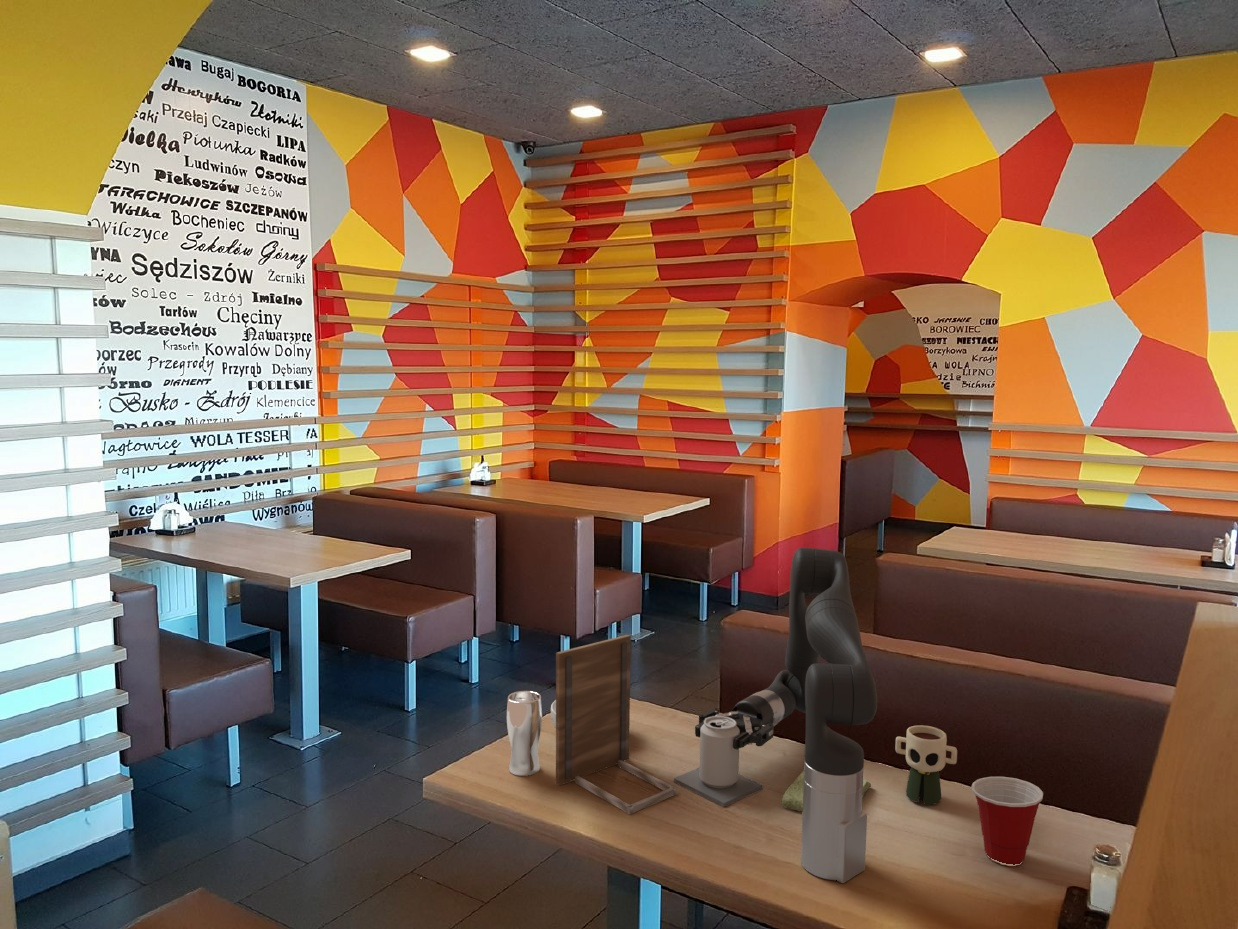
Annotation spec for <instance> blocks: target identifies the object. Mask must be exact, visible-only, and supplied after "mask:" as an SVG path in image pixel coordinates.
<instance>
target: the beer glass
mask: <svg viewBox="0 0 1238 929" xmlns="http://www.w3.org/2000/svg"><path fill="white" fill-rule="evenodd" d="M506 706H507V707H506V727H507V733H508V740H509V744H510V745H509V746H510V751H511V752H510V763H509V767H508V770H509V772H510V773H511V774H512V775H513V776H514V775H515V776H517V777H518V776H519V777H528V775H529V776H533V775H535V774H537V773H538V772H539V771H540V769H541V766H540V759H539V744H540V738H541V734H542V733H541V732H542V726H543V725H542V724H543V710H542V707H543V706H542V695H541V694H540V693H539V692H537V691H532V690H520V691H519V690H518V691H515V692H512V693H509V695H508V696H507V705H506Z"/></svg>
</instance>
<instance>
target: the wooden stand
mask: <svg viewBox="0 0 1238 929" xmlns="http://www.w3.org/2000/svg"><path fill="white" fill-rule="evenodd" d="M555 700H556V728H555V785H556V786H558V785H560V786H562V785H565V784H567V783H571V782H573V781H574V783H575V784H576V785H578V786H579V787H581V788H583V789H585V790H587V791H588V792H590V793H592V794H594V795H595V796H597V797H599V798H601V799H602V800H604V801H606V802H608V803H609V804H610V805H613V806H615V807H616V808H618V809H620V810H622V811H623V812H625V813H626V814H628V815H632V814H634V813H637V812H639V811H640V810H643V809H645V808H648V807H650V806H653V805H655V804H658V803H660V802H662V801H664V800H667V799H669V798H671V797H673V796H677V795H678V788H677V787H676V786H673V785H671V784H669V782H668V783H667V782H665V781H664V780H662V779H660V778H657V777H656V776H653V775H652V774H650V773H648V772H646V771H645V770H642V769H640V768H638V767H636V766H634V765H633V764H630V763H628V762H626V761H628V759H629V760H630V722H631V720H630V719H631V718H630V713H631V712H630V710H631V702H630V701H631V635H629V634H625V635H621V636H616V637H613V638H609V639H605V640H601V641H597V642H593V643H589V644H585V645H582V646H577V647H573V648H570V649H569V648H568V649H565V650H562V651H557V652H555ZM624 760H626V761H624ZM615 764H616V765H617V767H618V768H620V767H621V768H620V769H622V770H624V771H626V772H627V771H628V773H630V774H631V773H633V774H634V775H633V774H632V775H633V776H635V775H636V776H635V777H637V778H639V779H641V780H643V781H645V782H647V783H649V784H651V785H653V786H654V785H655V786H654V787H657V788H658V789H660V790H662V791H659V792H658V793H655V794H653V795H651V796H648V797H646V798H643V799H641V800H638V801H635V802H634V803H632V804H629V803H628V802H626V801H624V800H622V799H621V798H619V797H617V796H615V795H613V794H611V793H609V792H608V791H607V790H605V789H603V788H601V787H599V786H597V785H596V784H593V783H592V782H590V781H589V780H587V779H585V778H584V777H586V776H589V775H592V774H594V773H598V772H599V771H602V770H604V769H607V768H606V767H608V768H610V767H613V766H615Z"/></svg>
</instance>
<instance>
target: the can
mask: <svg viewBox="0 0 1238 929" xmlns="http://www.w3.org/2000/svg"><path fill="white" fill-rule="evenodd" d="M736 725H737V723H736V721H735V720H733V719H732V718H729V717H724V716H712V717H708V718H706V719H705V720H704V724H703V725H702V727H701V728H700V737H699V738H700V739H699V767H700V773H699V775H700V779H701V780H702V781H703V782H704V783H705V784H706V785H708V786H710V787H714V788H727V787H731V786H732V785H733V784H734V783H736V782H737V781H738V778H739V774H740V773H739V771H740V748H739V749H738V750H736V749H734V748H733V740H734V738H735V737H736V736H738V735H740V730H739V728H738V727H737V726H736Z"/></svg>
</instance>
